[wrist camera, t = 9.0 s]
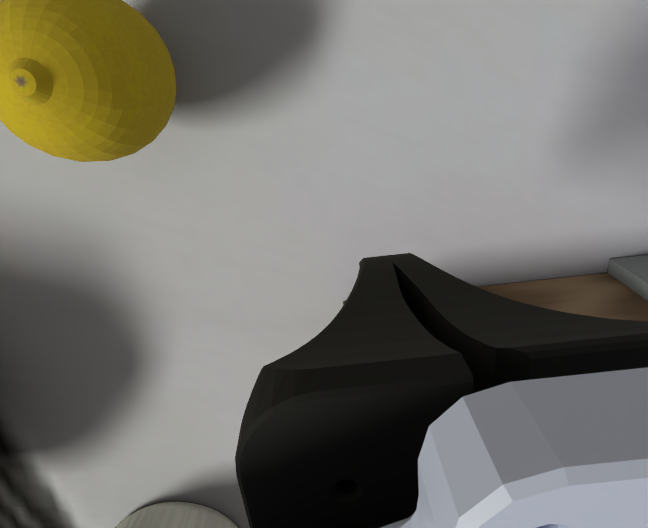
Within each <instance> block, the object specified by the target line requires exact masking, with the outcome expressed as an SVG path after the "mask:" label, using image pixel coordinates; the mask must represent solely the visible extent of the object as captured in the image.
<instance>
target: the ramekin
mask: <svg viewBox="0 0 648 528" xmlns="http://www.w3.org/2000/svg"><path fill="white" fill-rule="evenodd" d="M115 528H238V527H237V526H236V525H235V524H234V523H233V522H232V521H231V520H230V519H229V518H227V517H226V516H224V515H223V514H221V513H219V512H218V511H216V510H213V509H211V508H209V507H206V506H202V505H199V504H194V503H188V502H165V503H158V504H153V505H150V506H147V507H145V508H142V509H140V510H138V511H136V512H135V513H133V514H131V515H129V516H128V517H126V518H125V519H124V520H122V521H121V522H120V523H119V524H118V525H117V526H116V527H115Z"/></svg>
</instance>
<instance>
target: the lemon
mask: <svg viewBox="0 0 648 528" xmlns="http://www.w3.org/2000/svg"><path fill="white" fill-rule="evenodd" d="M176 91H177V87H176V76H175V69H174V66H173V63H172V60H171V57H170V54H169V51H168V49H167V47H166V45H165V44H164V42H163V40H162V39H161V37H160V35H159V33H158V32H157V31H156V30H155V29H154V27H153V26H152V25H151V24H150V23H149V22H148V21H147V20H146V19H145V18H144V17H143V15H142V14H141V13H139V12H138V11H137V10H135V9H134V8H132V7H131V6H129V5H128V4H126V3H125V2H124V1H122V0H1V1H0V120H1V121H2V123H3V124H4V125H5V126H6V127H7V128H8V129H9V130H10V131H11V132H12V133H13V134H15V135H16V136H17V137H19V138H20V139H22V140H23V141H24V142H26V143H27V144H29V145H30V146H32V147H35V148H37V149H39V150H41V151H44V152H46V153H48V154H50V155H52V156H56V157H61V158H66V159H70V160H75V161H82V162H88V161H110V160H114V159H117V158H121V157H124V156H127V155H130V154H133V153H135V152H137V151H139V150H140V149H142V148H143V147H145V146H146V145H148V144H149V143H151V142H152V141H153V140H154V139H155V138H156V137H157V136H158V135H159V133H160V132H161V131H162V130H163V129H164V127H165V126H166V125H167V123H168V120H169V118H170V116H171V113H172V111H173V109H174V104H175V98H176Z"/></svg>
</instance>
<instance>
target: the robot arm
mask: <svg viewBox="0 0 648 528" xmlns="http://www.w3.org/2000/svg"><path fill="white" fill-rule="evenodd" d="M359 265H360V270H359V274H358V277H357V280H356V282H355V285H354V287H353V289H352V292H351V293H350V295H349V297H348V299H347V301H346V302H345V304H344V306H343V307H342V309H341V310H340V311H339V313H338V314H337V315H336V317H335V318H334V319H333V320H332V322H331V323H330V324H329V325H328V326H327V327H326V328H325V329H324V330H323V331H322V332H321V333H319V334H318V335H317V336H316V337H315V338H313V339H312V340H311V341H309V342H308V343H306V344H305V345H303V346H302V347H300V348H299V349H297V350H295V351H294V352H292V353H290V354H288V355H286V356H284V357H282V358H280V359H278V360H276V361H274V362H272V363H270V364H268V365H266V366H264V367H263V368H262V369H261V372H260V374H259V376H258V378H257V381H256V383H255V385H254V388H253V390H252V393H251V396H250V398H249V401H248V404H247V406H246V410H245V413H244V416H243V420H242V424H241V429H240V434H239V440H238V445H237V451H236V456H235V461H236V474H237V479H238V483H239V487H240V491H241V494H242V498H243V502H244V506H245V510H246V514H247V517H248V521H249V525H250V528H648V321H634V320H621V319H609V318H600V317H593V316H586V315H579V314H572V313H567V312H561V311H556V310H551V309H547V308H543V307H538V306H534V305H530V304H526V303H522V302H518V301H515V300H512V299H509V298H506V297H503V296H500V295H497V294H494V293H491V292H488V291H485V290H483V289H480V288H478V287H476V286H474V285H471V284H469V283H467V282H464V281H462V280H460V279H458V278H456V277H454V276H452V275H450V274H448V273H446V272H444V271H443V270H441V269H439V268H437V267H435V266H433V265H432V264H430V263H428V262H426V261H424V260H423V259H421V258H419V257H417V256H415V255H413V254H411V253H406V254H397V255H388V256H378V257H369V258H363V259H362V260H361V261H360V262H359Z"/></svg>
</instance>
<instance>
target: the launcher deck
mask: <svg viewBox="0 0 648 528" xmlns="http://www.w3.org/2000/svg"><path fill="white" fill-rule="evenodd" d="M478 288H480V289H483V290H485V291H488V292H491V293H494V294H497V295H500V296H503V297H506V298H509V299H512V300H515V301H518V302H522V303H526V304H530V305H534V306H538V307H543V308H547V309H551V310H556V311H561V312H567V313H572V314H579V315H586V316H593V317H600V318H609V319H621V320H634V321H648V301H647V300H646V299H644V298H643V297H641V296H640V295H639V294H637V293H636V292H634V291H633V290H631V289H630V288H629V287H627V286H626V285H624V284H623V283H621V282H620V281H619V280H617V279H616V278H614V277H613V276H611V275H610V274H609V273H600V274H591V275H582V276H573V277H563V278H554V279H545V280H536V281H527V282H517V283H508V284H499V285H490V286H480V287H478ZM345 302H346V301H343V304H345Z"/></svg>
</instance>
